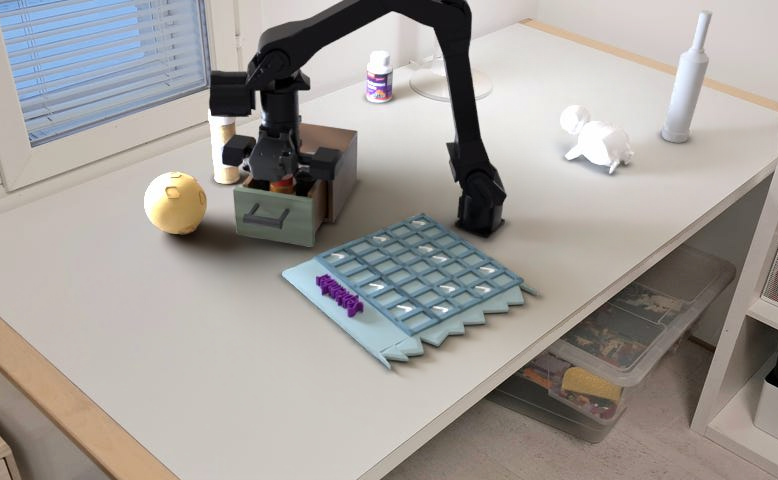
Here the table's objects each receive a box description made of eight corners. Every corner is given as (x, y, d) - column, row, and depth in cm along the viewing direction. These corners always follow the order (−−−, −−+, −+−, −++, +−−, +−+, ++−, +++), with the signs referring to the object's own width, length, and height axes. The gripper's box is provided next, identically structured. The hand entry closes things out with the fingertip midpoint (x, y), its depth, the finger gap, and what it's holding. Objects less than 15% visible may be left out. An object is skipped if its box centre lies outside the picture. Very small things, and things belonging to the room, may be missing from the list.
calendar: (538, 297, 131) (541, 285, 130) (391, 371, 117) (392, 358, 116) (422, 219, 148) (423, 207, 146) (282, 276, 134) (281, 263, 133)
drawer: (302, 264, 135) (301, 218, 130) (224, 250, 138) (220, 205, 132) (337, 205, 149) (337, 161, 144) (266, 193, 152) (263, 150, 147)
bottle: (691, 143, 172) (725, 17, 157) (664, 142, 172) (696, 16, 157) (683, 131, 176) (716, 7, 161) (658, 131, 176) (688, 7, 161)
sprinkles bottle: (217, 186, 155) (210, 116, 147) (212, 174, 158) (206, 105, 150) (242, 183, 156) (237, 113, 148) (237, 171, 160) (232, 102, 151)
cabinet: (333, 223, 146) (332, 170, 140) (253, 210, 149) (250, 157, 143) (356, 181, 157) (357, 130, 151) (282, 170, 160) (280, 119, 154)
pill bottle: (362, 100, 185) (363, 56, 179) (372, 90, 189) (373, 47, 183) (386, 105, 183) (387, 60, 177) (395, 95, 187) (397, 51, 181)
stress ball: (155, 250, 139) (146, 195, 133) (143, 219, 146) (135, 166, 140) (216, 238, 142) (211, 184, 136) (202, 208, 149) (196, 156, 143)
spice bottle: (291, 199, 145) (289, 165, 141) (303, 212, 142) (302, 177, 138) (266, 206, 143) (264, 171, 139) (277, 219, 140) (276, 184, 136)
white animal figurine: (622, 172, 168) (567, 122, 173) (645, 141, 162) (587, 89, 166) (597, 188, 163) (541, 135, 168) (620, 156, 157) (561, 102, 161)
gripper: (201, 129, 128) (210, 220, 137) (322, 147, 124) (324, 239, 134) (230, 98, 136) (237, 186, 146) (345, 114, 133) (344, 203, 142)
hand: (284, 203), depth 142 cm, fingers closed on spice bottle, 4 cm apart
